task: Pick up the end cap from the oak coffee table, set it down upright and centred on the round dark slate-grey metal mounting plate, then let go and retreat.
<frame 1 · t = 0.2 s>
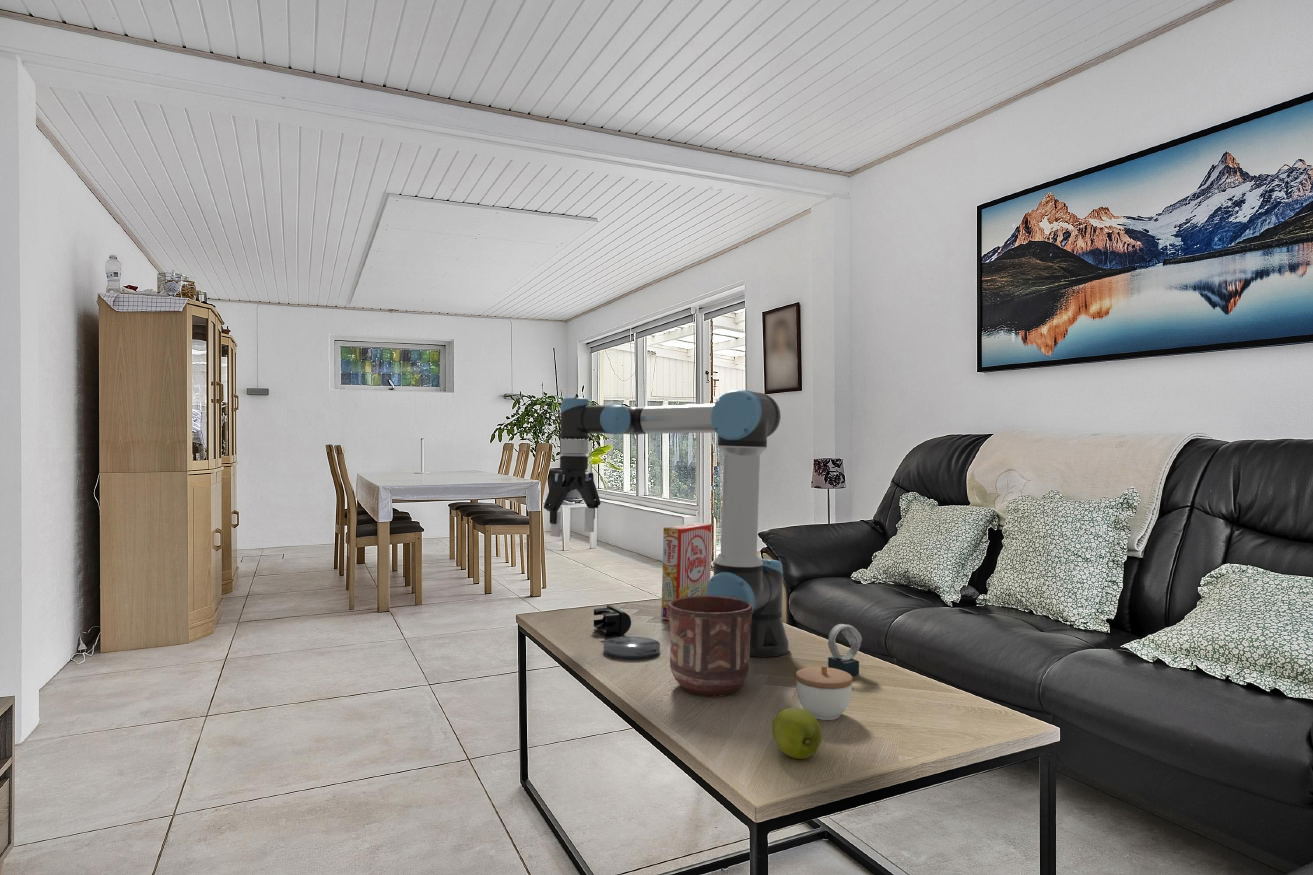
hand: (572, 534, 208), 27 cm above the table, fingers open, 13 cm apart
popcorn box: (686, 615, 234), on the table
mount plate: (631, 651, 192), on the table
lidded jar: (823, 715, 150), on the table
green lime: (796, 757, 130), on the table
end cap: (611, 634, 210), on the table
pottery: (708, 688, 165), on the table
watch: (843, 673, 177), on the table
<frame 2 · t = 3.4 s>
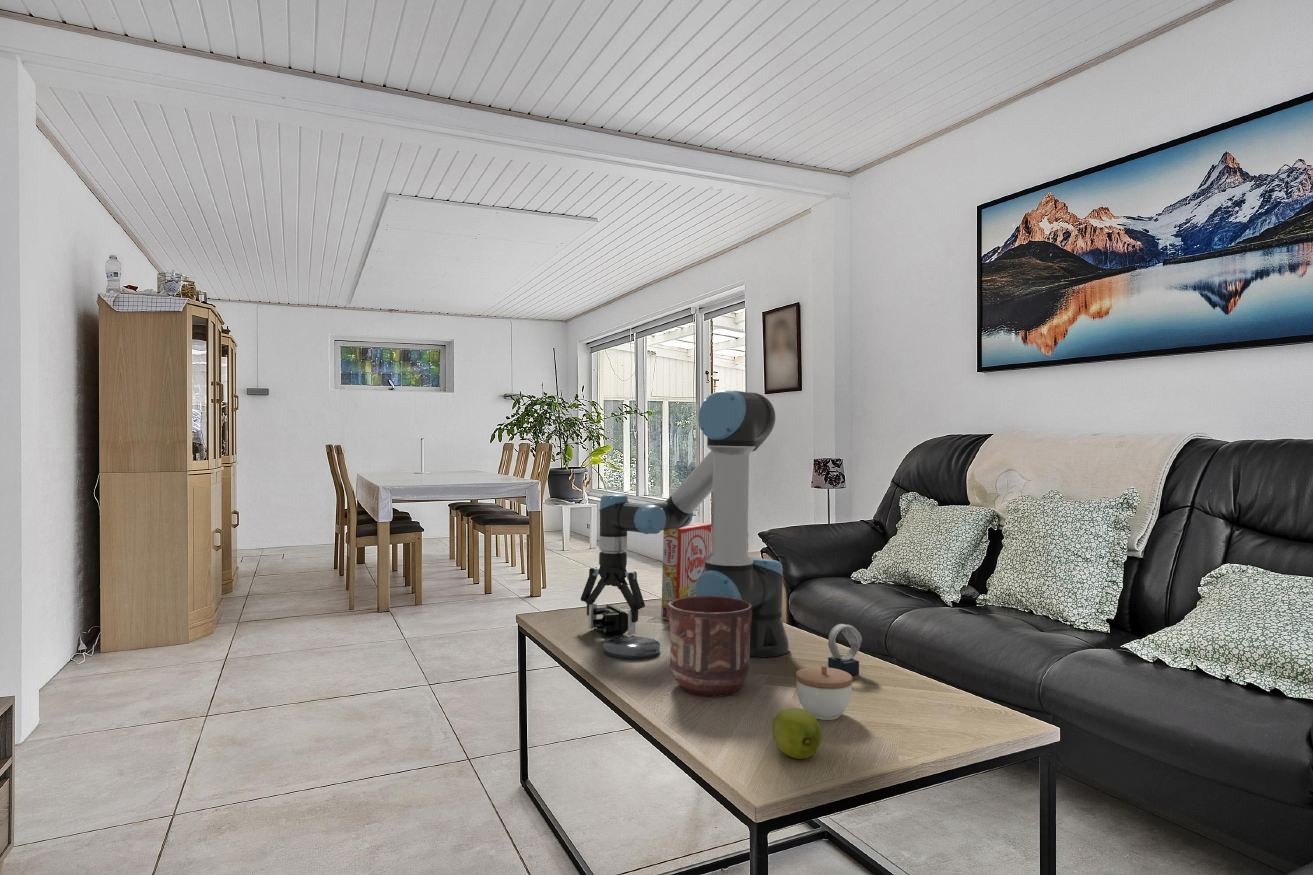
hand: (611, 630, 210), 1 cm above the table, fingers closed on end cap, 12 cm apart
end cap: (611, 633, 210), on the table, touching gripper
everything else where it was.
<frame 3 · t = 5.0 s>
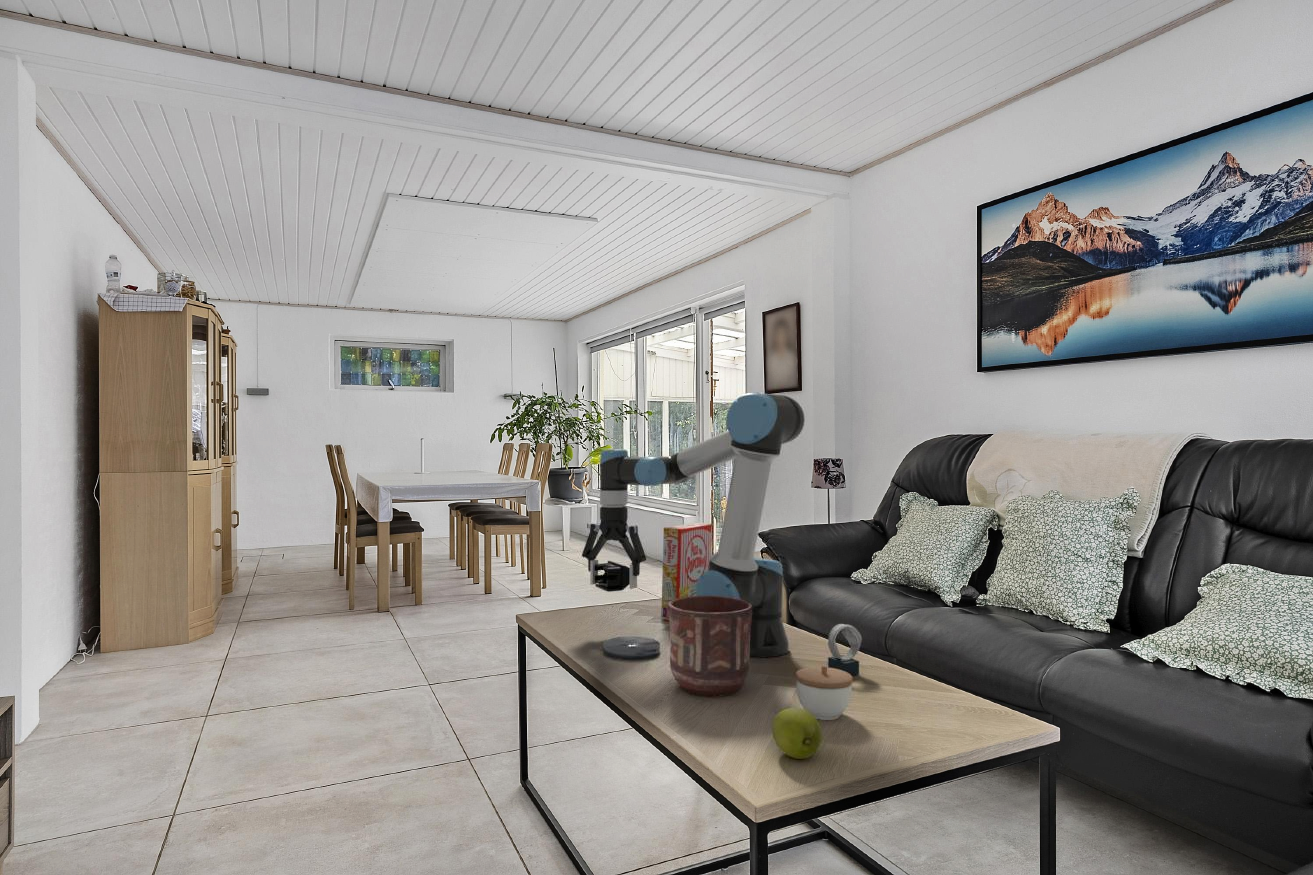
hand: (613, 585, 210), 13 cm above the table, fingers closed on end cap, 12 cm apart
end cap: (613, 588, 210), point 12 cm above the table, touching gripper
everything else where it was.
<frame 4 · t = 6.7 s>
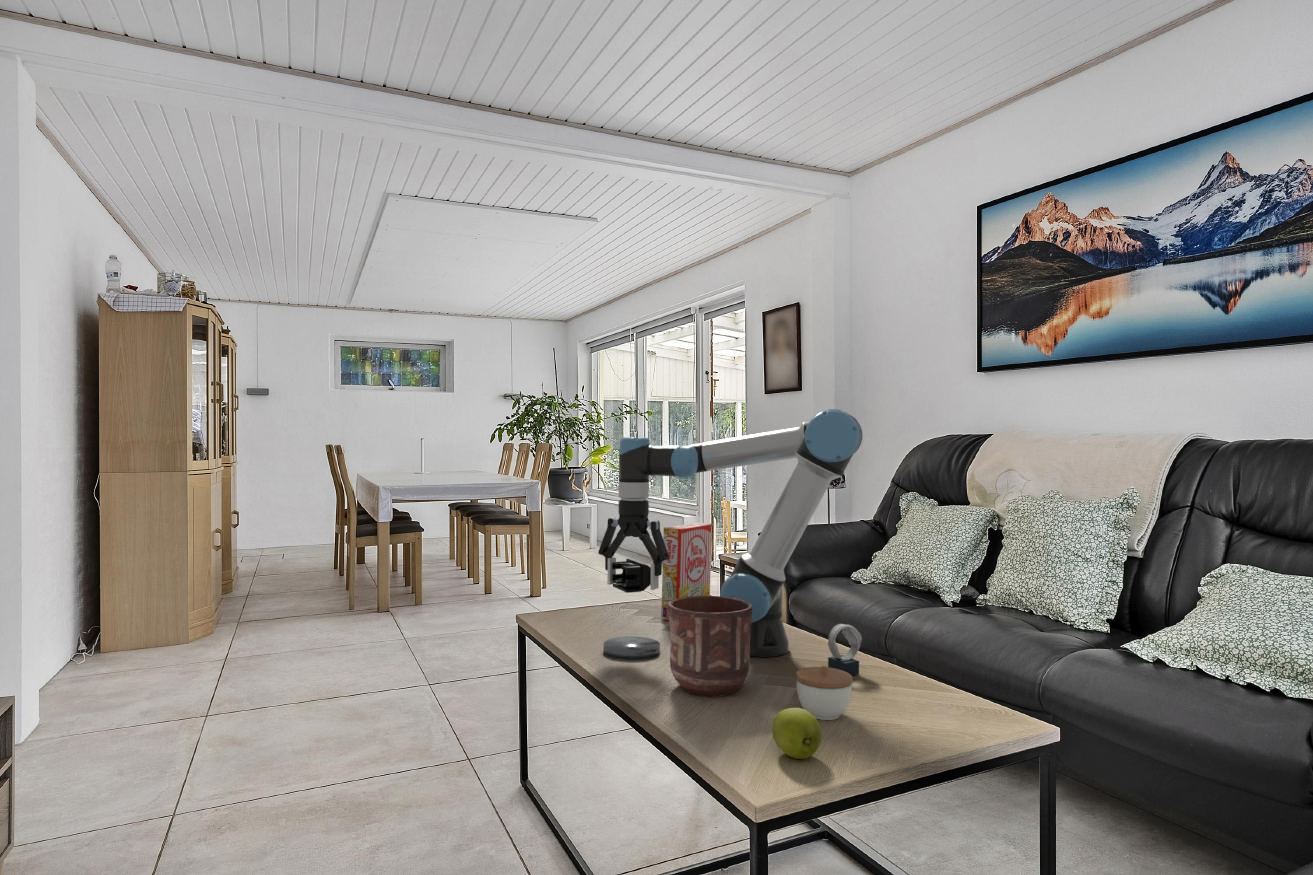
hand: (632, 586, 192), 16 cm above the table, fingers closed on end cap, 12 cm apart
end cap: (632, 589, 192), point 15 cm above the table, touching gripper
everything else where it was.
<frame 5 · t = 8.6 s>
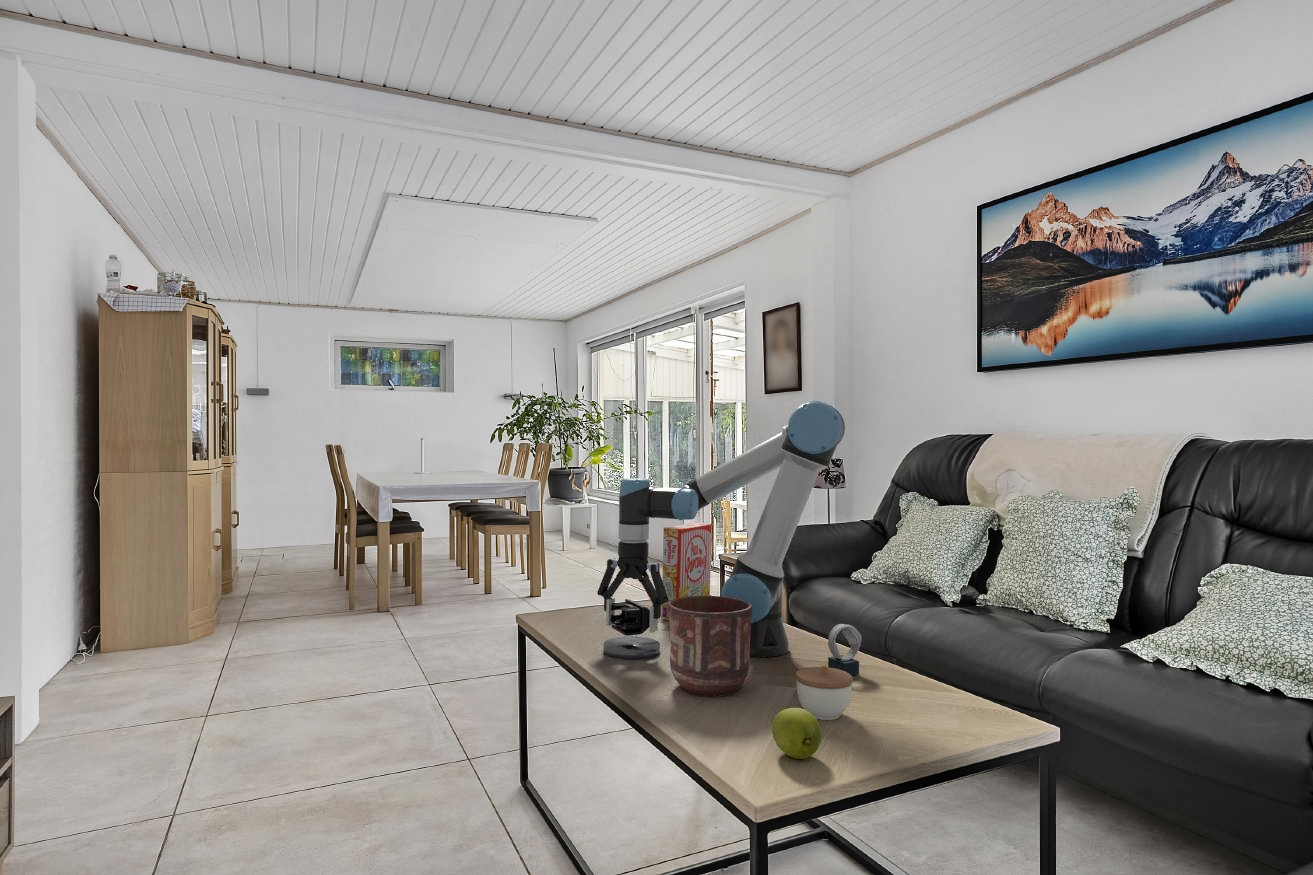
hand: (631, 628, 192), 6 cm above the table, fingers closed on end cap, 12 cm apart
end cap: (631, 630, 192), point 5 cm above the table, touching gripper
everything else where it was.
when the fingers open (4 cm above the table, at t = 10.1 s): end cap drops 1 cm, resting on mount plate.
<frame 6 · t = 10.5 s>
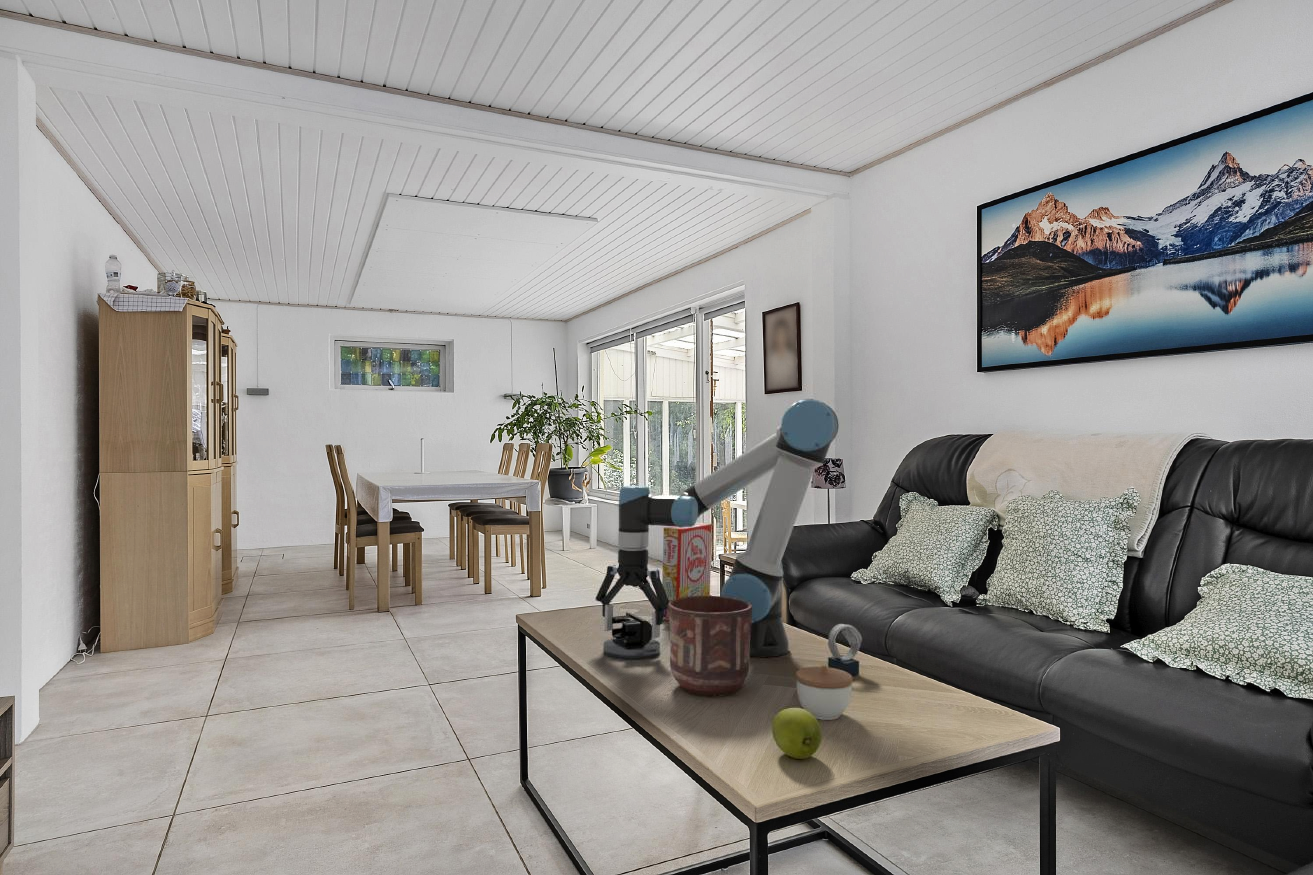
hand: (631, 633, 192), 4 cm above the table, fingers open, 13 cm apart
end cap: (631, 644, 192), point 2 cm above the table, touching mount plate
everything else where it was.
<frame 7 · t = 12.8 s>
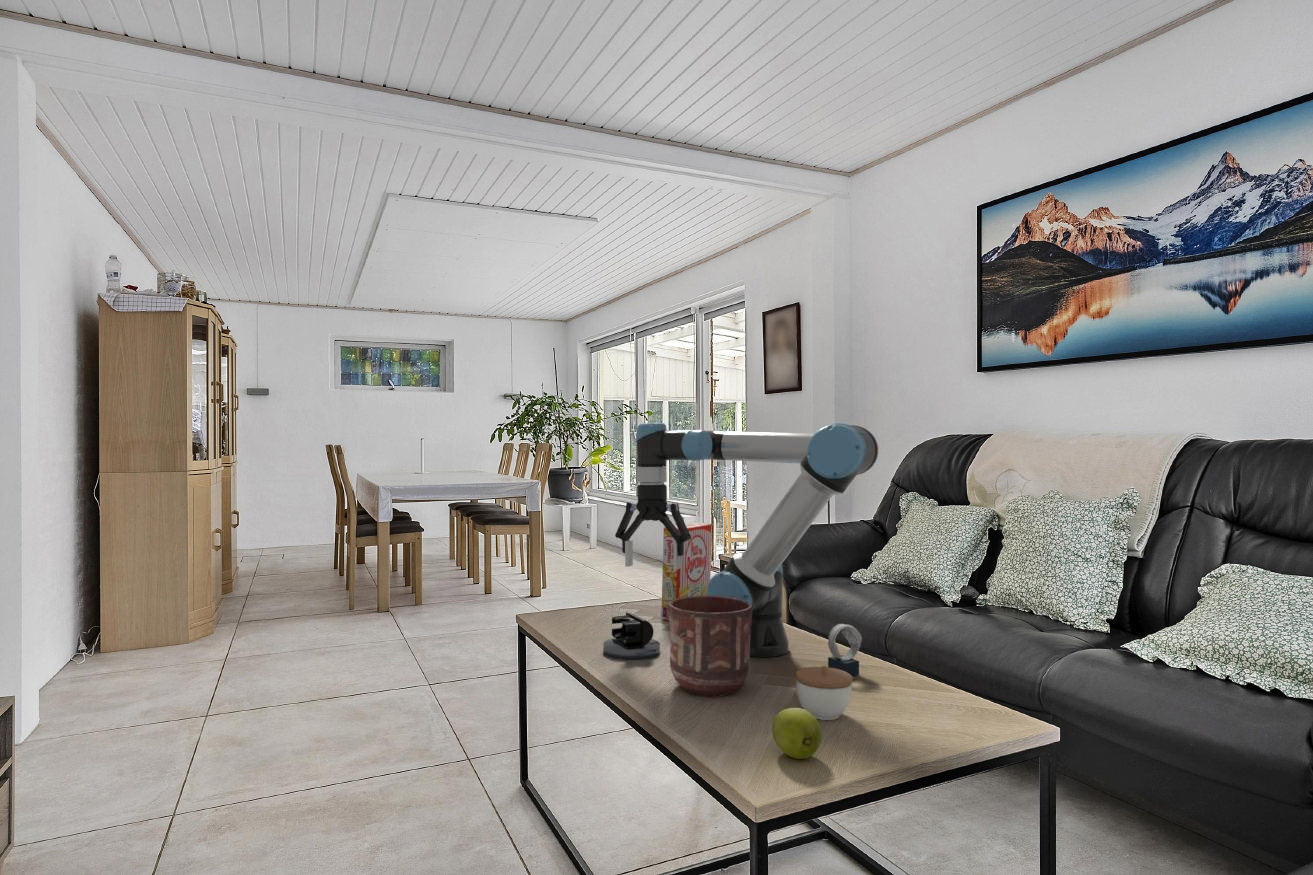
hand: (652, 567, 196), 20 cm above the table, fingers open, 13 cm apart
nothing on the table moved.
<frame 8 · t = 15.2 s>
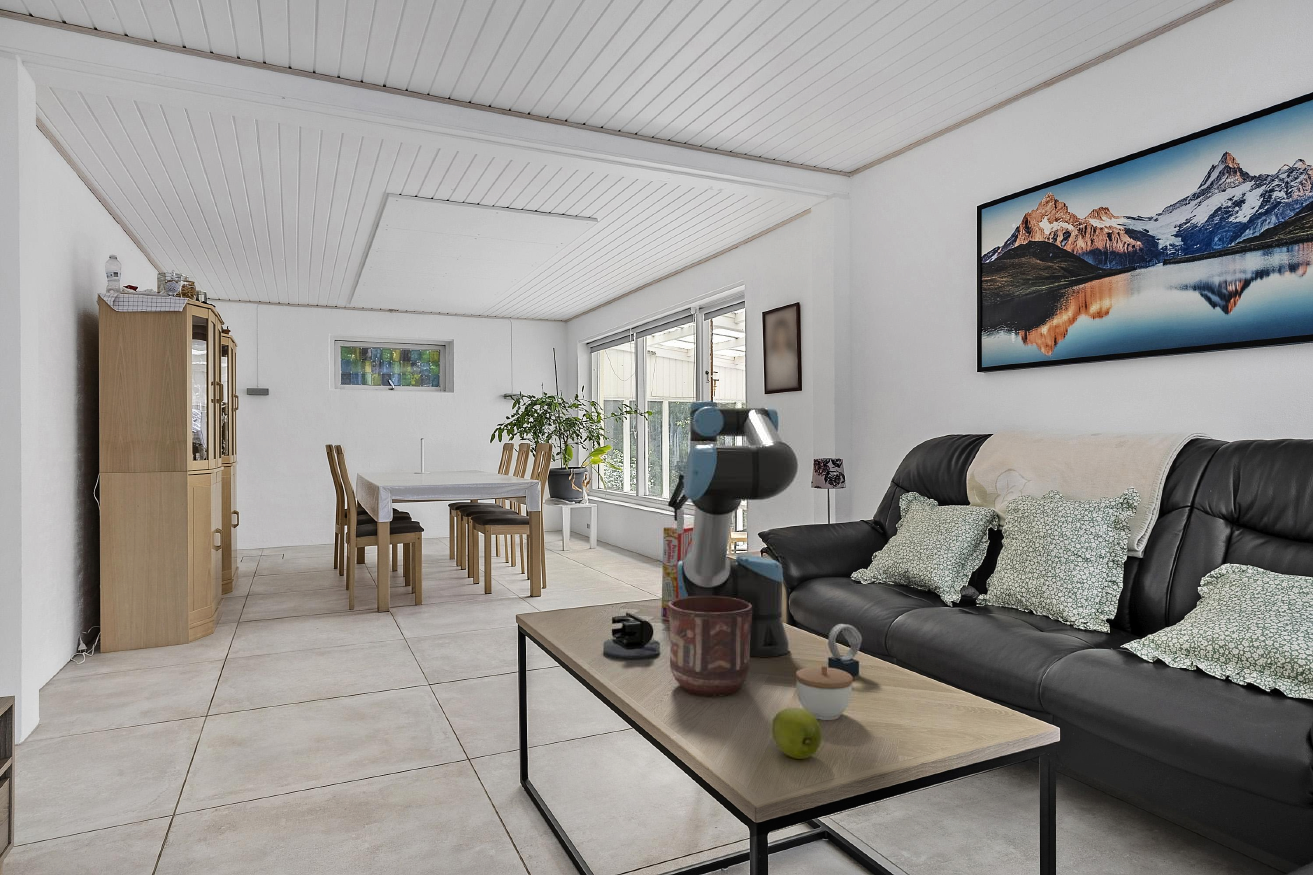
hand: (702, 534, 213), 27 cm above the table, fingers open, 13 cm apart
nothing on the table moved.
at the end: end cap inside the target area on the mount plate (0.1 cm from its centre), point 1.8 cm above the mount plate's base; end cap tilted 0°; the gripper is holding nothing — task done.
